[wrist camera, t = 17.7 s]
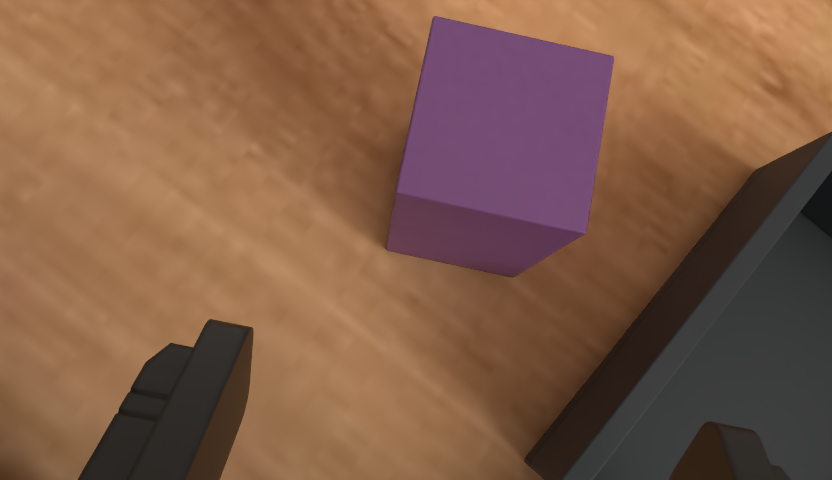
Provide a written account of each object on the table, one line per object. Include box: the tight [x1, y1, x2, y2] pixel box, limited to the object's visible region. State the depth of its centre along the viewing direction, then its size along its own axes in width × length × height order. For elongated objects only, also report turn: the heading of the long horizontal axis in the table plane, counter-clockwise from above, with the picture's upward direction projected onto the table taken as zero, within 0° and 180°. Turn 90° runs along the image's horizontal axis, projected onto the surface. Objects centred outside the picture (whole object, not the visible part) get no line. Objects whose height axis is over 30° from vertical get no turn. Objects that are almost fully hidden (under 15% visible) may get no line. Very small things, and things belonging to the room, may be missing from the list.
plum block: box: [386, 16, 614, 277], centre depth 20 cm, size 4×4×8 cm
